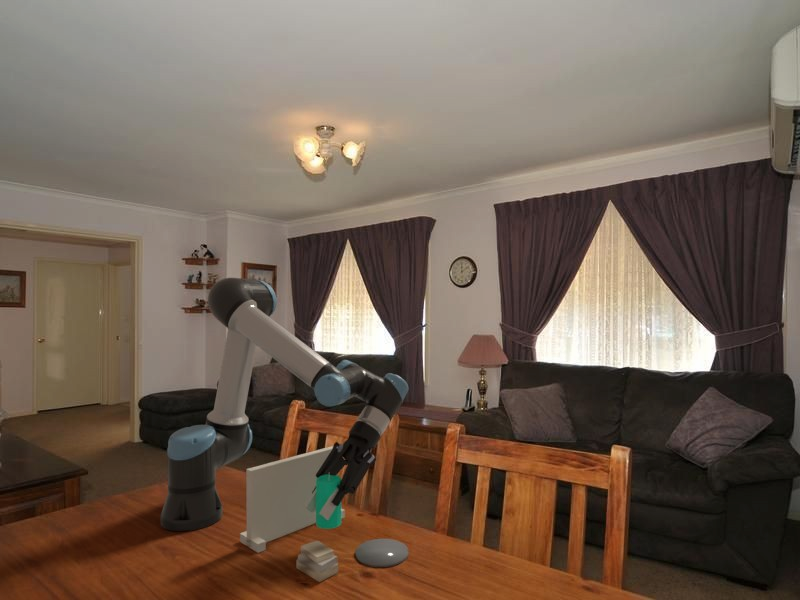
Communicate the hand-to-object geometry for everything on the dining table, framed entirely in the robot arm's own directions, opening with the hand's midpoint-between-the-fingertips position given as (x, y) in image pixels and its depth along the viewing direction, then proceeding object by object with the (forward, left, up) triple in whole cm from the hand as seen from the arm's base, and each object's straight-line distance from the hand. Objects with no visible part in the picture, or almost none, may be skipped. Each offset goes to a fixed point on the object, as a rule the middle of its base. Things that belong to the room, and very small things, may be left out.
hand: (316, 512), depth 117 cm
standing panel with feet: (-13, +4, -9) cm, 16 cm away
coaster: (+12, +10, -9) cm, 18 cm away
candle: (0, +4, -4) cm, 5 cm away
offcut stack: (+7, -5, -9) cm, 12 cm away
